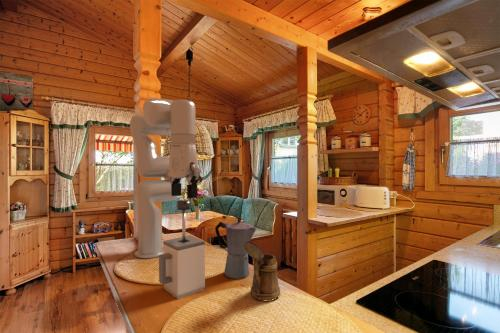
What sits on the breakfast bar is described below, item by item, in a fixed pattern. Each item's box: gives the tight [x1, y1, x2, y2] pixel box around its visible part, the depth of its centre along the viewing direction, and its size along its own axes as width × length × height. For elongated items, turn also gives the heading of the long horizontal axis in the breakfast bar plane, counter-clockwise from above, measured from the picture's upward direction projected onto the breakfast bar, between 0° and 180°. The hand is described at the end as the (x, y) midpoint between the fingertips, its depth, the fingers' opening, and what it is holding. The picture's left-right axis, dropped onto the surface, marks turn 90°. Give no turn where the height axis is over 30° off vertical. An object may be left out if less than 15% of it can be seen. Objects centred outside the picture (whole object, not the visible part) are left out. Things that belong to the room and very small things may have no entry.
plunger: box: [176, 199, 191, 243], centre depth 87 cm, size 6×6×16 cm
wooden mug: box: [244, 240, 281, 301], centre depth 82 cm, size 9×14×18 cm, turn 146°
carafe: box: [158, 235, 206, 300], centre depth 86 cm, size 9×12×15 cm
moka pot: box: [214, 217, 258, 280], centre depth 98 cm, size 10×15×20 cm, turn 78°
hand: (184, 196), depth 86 cm, fingers open, 9 cm apart
